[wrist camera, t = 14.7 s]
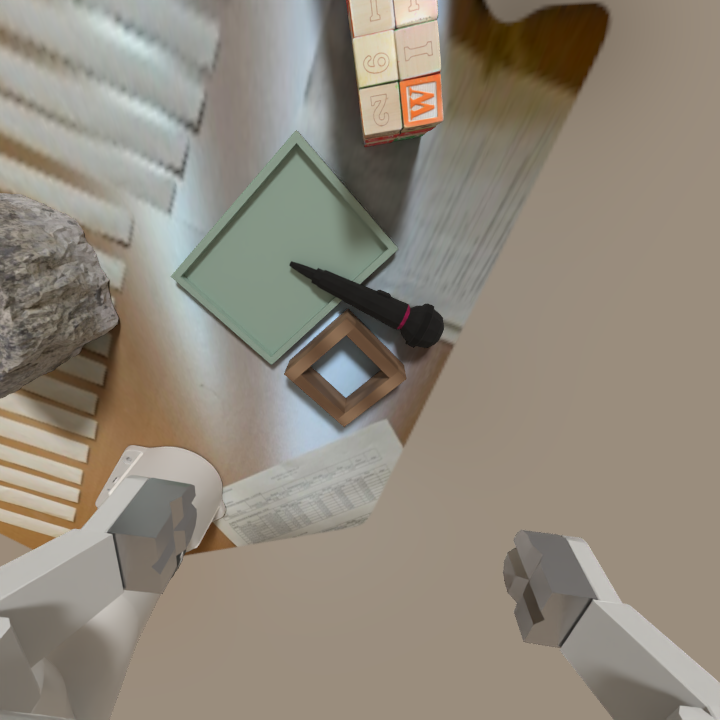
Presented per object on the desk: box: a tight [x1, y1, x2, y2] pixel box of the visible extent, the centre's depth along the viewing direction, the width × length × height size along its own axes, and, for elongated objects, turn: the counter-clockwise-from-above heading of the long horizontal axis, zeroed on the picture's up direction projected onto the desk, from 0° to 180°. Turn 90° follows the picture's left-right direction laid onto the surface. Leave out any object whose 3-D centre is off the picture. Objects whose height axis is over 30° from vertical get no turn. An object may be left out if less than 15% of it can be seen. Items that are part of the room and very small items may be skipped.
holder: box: [284, 308, 406, 427], centre depth 49 cm, size 11×11×4 cm
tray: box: [171, 130, 398, 365], centre depth 45 cm, size 22×16×2 cm
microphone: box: [289, 261, 444, 348], centre depth 45 cm, size 6×6×20 cm
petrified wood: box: [0, 193, 119, 398], centre depth 40 cm, size 19×17×15 cm
